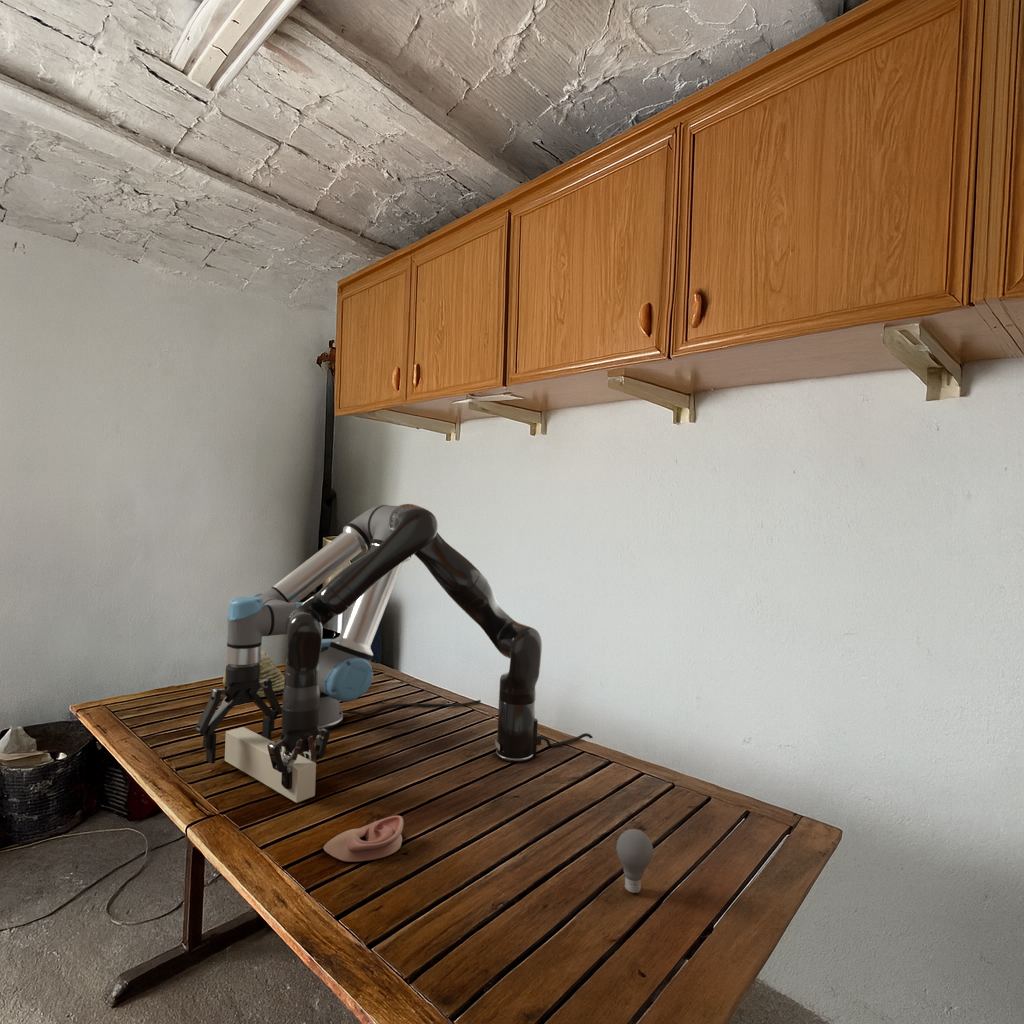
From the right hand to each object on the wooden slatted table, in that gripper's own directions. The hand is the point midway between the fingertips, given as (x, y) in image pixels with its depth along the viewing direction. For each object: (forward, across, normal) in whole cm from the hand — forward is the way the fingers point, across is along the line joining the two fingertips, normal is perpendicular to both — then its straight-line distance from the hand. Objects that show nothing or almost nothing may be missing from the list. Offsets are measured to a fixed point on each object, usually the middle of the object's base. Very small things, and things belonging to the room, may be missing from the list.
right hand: (298, 783), depth 134 cm
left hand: (0, 0, -24) cm, 24 cm away
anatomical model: (+2, +3, +26) cm, 26 cm away
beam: (+2, 0, -12) cm, 12 cm away
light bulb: (+2, -19, +69) cm, 72 cm away
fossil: (+2, -28, -67) cm, 73 cm away
